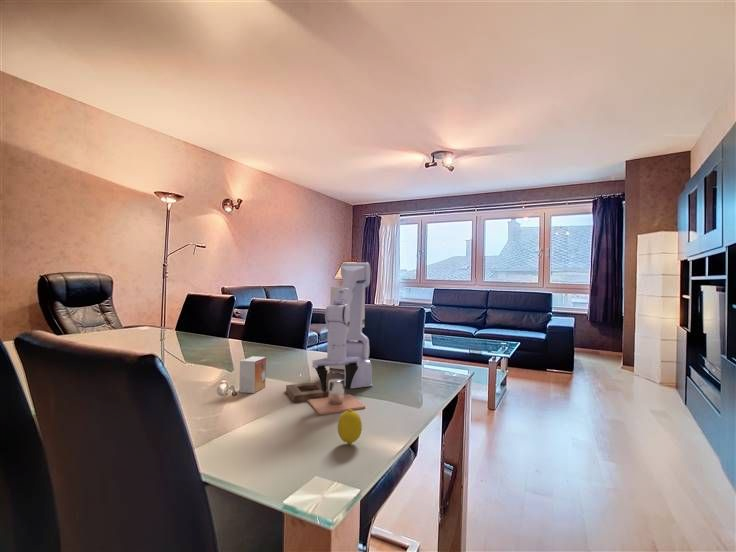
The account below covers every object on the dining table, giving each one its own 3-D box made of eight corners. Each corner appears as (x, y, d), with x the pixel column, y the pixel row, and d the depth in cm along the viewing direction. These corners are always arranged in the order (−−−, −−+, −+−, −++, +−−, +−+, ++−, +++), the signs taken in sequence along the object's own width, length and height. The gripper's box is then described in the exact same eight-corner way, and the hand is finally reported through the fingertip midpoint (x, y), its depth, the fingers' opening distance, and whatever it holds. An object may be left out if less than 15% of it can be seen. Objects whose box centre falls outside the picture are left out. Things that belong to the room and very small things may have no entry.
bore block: (320, 387, 127) (320, 381, 127) (331, 397, 116) (331, 391, 116) (286, 391, 122) (286, 385, 122) (294, 402, 111) (294, 395, 111)
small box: (254, 393, 119) (254, 361, 119) (238, 392, 120) (239, 360, 120) (266, 386, 127) (266, 356, 127) (251, 385, 128) (251, 355, 128)
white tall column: (353, 375, 143) (354, 286, 144) (329, 372, 147) (330, 286, 148) (363, 369, 154) (365, 286, 155) (341, 366, 158) (342, 286, 158)
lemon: (337, 439, 86) (337, 405, 86) (360, 438, 86) (361, 405, 86) (337, 450, 80) (337, 413, 80) (362, 449, 81) (362, 413, 81)
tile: (350, 396, 118) (350, 394, 118) (365, 408, 107) (365, 406, 107) (308, 401, 112) (308, 399, 112) (319, 414, 101) (319, 412, 101)
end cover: (339, 399, 113) (340, 378, 113) (346, 403, 109) (347, 381, 109) (325, 401, 111) (325, 379, 111) (332, 406, 107) (332, 383, 107)
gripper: (317, 348, 103) (316, 396, 103) (364, 345, 109) (363, 390, 109) (310, 344, 109) (310, 389, 109) (355, 341, 116) (354, 384, 115)
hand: (336, 389), depth 110 cm, fingers open, 7 cm apart
